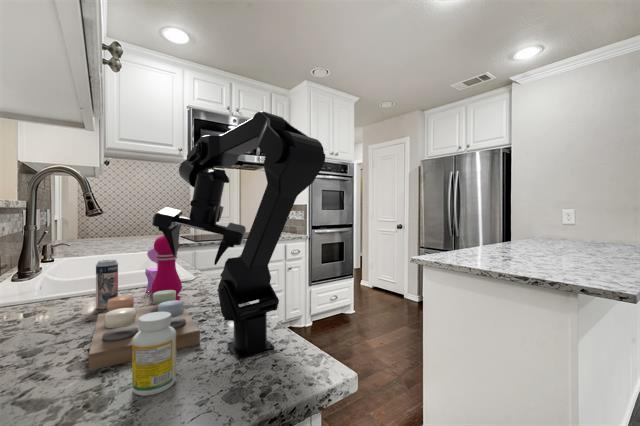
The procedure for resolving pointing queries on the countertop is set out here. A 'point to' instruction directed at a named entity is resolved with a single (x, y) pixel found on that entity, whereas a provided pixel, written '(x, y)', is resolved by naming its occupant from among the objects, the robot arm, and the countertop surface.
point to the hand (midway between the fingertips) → (195, 259)
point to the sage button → (164, 296)
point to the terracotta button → (120, 302)
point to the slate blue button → (172, 307)
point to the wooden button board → (117, 341)
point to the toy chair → (151, 271)
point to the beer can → (106, 282)
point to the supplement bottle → (154, 354)
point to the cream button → (120, 317)
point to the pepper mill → (165, 269)
